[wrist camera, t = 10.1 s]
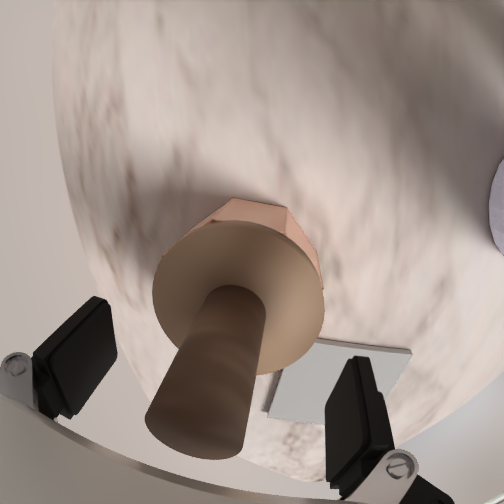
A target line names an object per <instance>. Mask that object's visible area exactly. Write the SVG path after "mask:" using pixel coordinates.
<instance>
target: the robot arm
mask: <svg viewBox="0 0 504 504" xmlns="http://www.w3.org/2000/svg"><path fill="white" fill-rule="evenodd" d="M116 359H117V347H116V342H115V335H114V328H113V321H112V313H111V306H110V305H109V304H108V302H107V300H105V299H102V298H99V297H96V296H93V297H91V298H90V299H89V300H88V301H87V302H86V303H85V304H84V305H83V306H82V307H80V308H79V309H78V310H77V311H76V312H75V313H74V314H73V315H72V316H71V317H69V318H68V319H67V320H66V321H65V322H64V323H63V324H62V325H61V326H60V327H59V328H58V329H57V330H56V331H55V332H54V333H53V334H52V335H51V336H49V337H48V338H47V339H46V340H45V341H44V342H43V343H42V344H41V345H40V346H39V347H38V348H37V349H36V350H35V351H34V352H33V357H32V358H30V357H29V356H28V355H27V354H25V353H22V352H16V353H12V354H10V355H8V356H7V357H5V358H4V360H3V361H2V364H1V367H0V504H454V501H453V500H452V498H451V497H450V496H449V495H447V494H446V493H444V492H442V491H441V490H440V489H438V488H437V487H435V486H434V485H432V484H431V483H429V482H428V481H426V480H425V479H423V478H422V477H421V476H419V475H418V474H417V473H418V462H417V460H416V458H415V457H414V456H413V455H412V454H411V453H410V452H408V451H405V450H401V449H395V446H394V441H393V436H392V432H391V427H390V422H389V418H388V413H387V409H386V405H385V400H384V396H383V394H382V393H381V392H380V391H378V389H377V385H376V381H375V377H374V373H373V369H372V365H371V361H370V358H369V357H365V356H357V355H355V356H353V358H352V359H350V358H349V359H348V360H347V362H346V364H345V366H344V368H343V370H342V372H341V374H340V376H339V378H338V380H337V382H336V384H335V386H334V388H333V390H332V392H331V394H330V396H329V398H328V400H327V402H326V404H325V411H324V412H325V444H326V481H327V482H330V489H339V495H341V497H340V498H339V499H338V500H326V499H310V498H297V497H287V496H278V495H270V494H262V493H255V492H249V491H243V490H238V489H232V488H228V487H223V486H218V485H214V484H210V483H205V482H201V481H198V480H194V479H190V478H186V477H183V476H180V475H176V474H173V473H170V472H167V471H164V470H161V469H157V468H155V467H152V466H149V465H146V464H144V463H141V462H139V461H136V460H133V459H131V458H128V457H126V456H124V455H121V454H119V453H117V452H114V451H112V450H110V449H107V448H105V447H103V446H101V445H99V444H97V443H95V442H92V441H90V440H89V439H87V438H84V437H83V436H81V435H79V434H77V433H75V432H73V431H71V430H69V429H68V428H66V427H64V426H62V425H60V424H59V423H58V421H57V417H58V415H59V414H61V415H63V416H65V417H66V418H68V419H71V418H72V417H73V415H77V414H78V413H79V412H80V410H81V409H82V407H83V406H84V404H85V403H86V402H87V400H88V399H89V397H90V396H91V394H92V393H93V392H94V390H95V389H96V387H97V386H98V384H99V383H100V382H101V380H102V379H103V377H104V376H105V375H106V373H107V372H108V371H109V369H110V368H111V367H112V365H113V364H114V362H115V361H116Z"/></svg>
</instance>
